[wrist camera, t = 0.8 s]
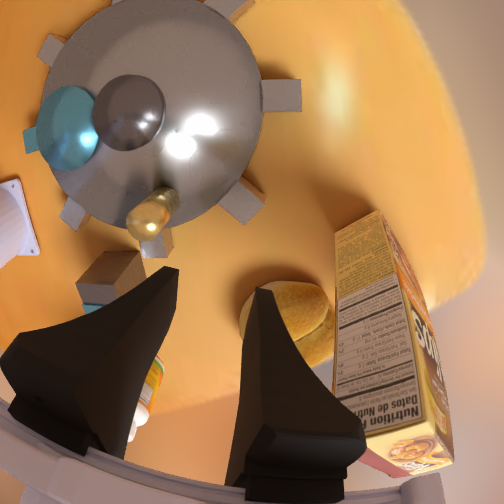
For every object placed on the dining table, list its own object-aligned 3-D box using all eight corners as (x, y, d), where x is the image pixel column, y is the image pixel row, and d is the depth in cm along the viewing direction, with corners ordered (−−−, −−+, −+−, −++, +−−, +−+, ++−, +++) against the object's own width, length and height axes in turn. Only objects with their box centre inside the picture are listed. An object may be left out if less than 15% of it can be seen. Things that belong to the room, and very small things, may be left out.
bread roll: (309, 259, 23) (314, 289, 19) (347, 332, 26) (355, 364, 23) (219, 299, 25) (211, 331, 22) (270, 361, 29) (268, 392, 25)
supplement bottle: (145, 380, 32) (120, 446, 24) (113, 352, 30) (79, 419, 22) (174, 369, 30) (151, 444, 22) (139, 339, 28) (104, 414, 20)
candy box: (422, 286, 22) (459, 462, 10) (379, 307, 24) (391, 481, 12) (378, 204, 19) (433, 420, 7) (328, 233, 21) (321, 448, 9)
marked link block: (119, 297, 26) (95, 333, 22) (104, 251, 24) (73, 284, 19) (153, 299, 26) (132, 338, 21) (140, 250, 23) (112, 286, 19)
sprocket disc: (62, 249, 24) (28, 282, 19) (31, 29, 14) (-15, 26, 9) (300, 246, 22) (306, 291, 17) (288, -42, 12) (291, -82, 7)
